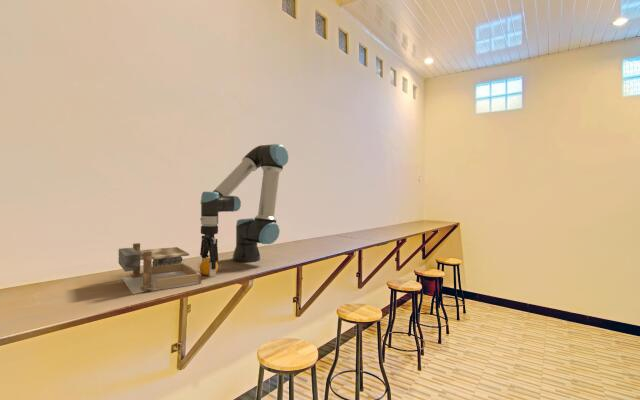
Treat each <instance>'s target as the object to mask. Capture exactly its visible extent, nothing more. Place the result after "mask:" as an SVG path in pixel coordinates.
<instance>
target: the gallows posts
mask: <svg viewBox="0 0 640 400" xmlns="http://www.w3.org/2000/svg"><path fill="white" fill-rule="evenodd" d="M132 248H133V249H135V250H137V249H138V250H139V251H140V250H141V242H135V243H134V242H133V243H132ZM152 262H153V259H152V252H151V251H146V252H144V256H143V263H142V264H143V265H142V266H143V268H142V269H143V273H141V269H140V270H136V271H132V274H129V277H131V278H136V277H142V275H143V287H140V289H141V290H142V291H144V292H143V293H149V292H152V291H151V290H154V287H153V286H152V285H151V267H153V264H152ZM145 291H146V292H145ZM148 291H149V292H148Z"/></svg>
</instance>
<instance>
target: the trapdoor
mask: <svg viewBox="0 0 640 400" xmlns="http://www.w3.org/2000/svg"><path fill="white" fill-rule="evenodd" d="M146 251H151V252H152V260H153V259H160V258H170V257H180V256H181V257H188V256H190V253H189V252H187V251H185V250H183V249H181V248H179V247H178V246H175V247H163V248H152V249H151V248H149V249H140V251H139V250H138V249H137V250H135V249H133V247H124V248H123V247H122V248H118V264H119V266H120V267H121V268H122V270H123V271H124V272H125V273H127V272H133V271H136V270H140V271H141V261H142V260H143V256H144V252H146Z"/></svg>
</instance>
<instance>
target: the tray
mask: <svg viewBox="0 0 640 400" xmlns="http://www.w3.org/2000/svg"><path fill="white" fill-rule="evenodd" d="M122 280H123V282H124V284H125V285H126V287H127V288H128V289H129V291H130V292H131V293H132V294H133V295H134V294H135V295H136V294H141V293H142V292H143V293H147V292H146V291H145V292H144V291H142V290H141V289H140V287H143V274H142V277H136V278H131V276H125V277H122ZM200 284H202V273H201V272H199V271H197V270H195V269H194V268H192V267H191V266H189V265H187V264H186V263H184V262H181V264H172V265H163V266H154V267H153V266H152V267H151V285H152V286H153V287H154V290H156V291H160V289H162V290H169V289H174V288H175V289H176V288H181V287H187V286H194V285H200ZM154 290H151V291H150V292H155V291H154ZM143 293H142V294H143Z"/></svg>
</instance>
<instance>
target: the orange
mask: <svg viewBox="0 0 640 400" xmlns="http://www.w3.org/2000/svg"><path fill="white" fill-rule="evenodd" d="M207 258H208V259H205V260H203V261H202V260H201V262H200V265H199V271H200V274H201V275H204V276H209V264H210V263H209V261H210V257H207ZM218 269H219V264H218V261H217V262H216V273H217V272H218Z"/></svg>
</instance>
